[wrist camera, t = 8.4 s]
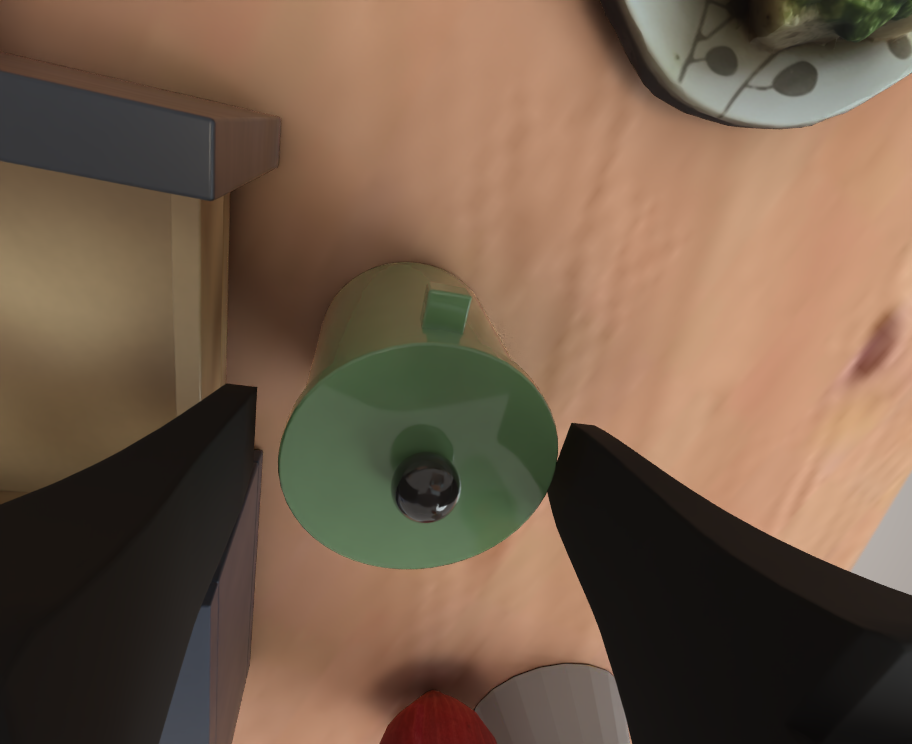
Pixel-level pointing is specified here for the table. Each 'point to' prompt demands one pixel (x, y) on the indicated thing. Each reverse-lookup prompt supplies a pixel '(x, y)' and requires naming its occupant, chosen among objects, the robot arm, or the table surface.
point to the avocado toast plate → (765, 55)
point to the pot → (414, 426)
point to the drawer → (110, 260)
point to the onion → (437, 723)
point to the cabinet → (220, 638)
